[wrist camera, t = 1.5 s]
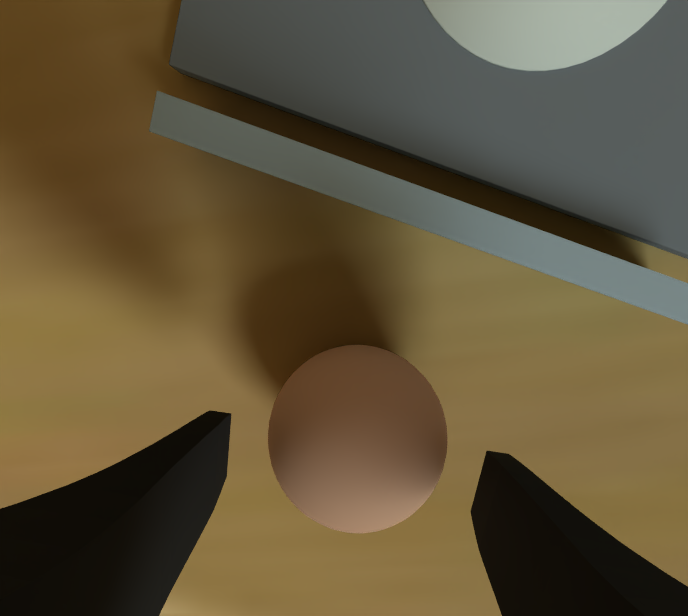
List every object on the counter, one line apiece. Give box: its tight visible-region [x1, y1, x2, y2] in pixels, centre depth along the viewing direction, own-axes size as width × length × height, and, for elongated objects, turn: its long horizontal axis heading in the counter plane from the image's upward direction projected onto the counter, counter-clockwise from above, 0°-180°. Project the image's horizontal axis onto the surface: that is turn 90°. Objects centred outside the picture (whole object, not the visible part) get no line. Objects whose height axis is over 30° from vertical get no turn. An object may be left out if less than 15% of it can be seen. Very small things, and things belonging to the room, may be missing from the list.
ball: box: [268, 345, 447, 533], centre depth 12 cm, size 6×6×6 cm
